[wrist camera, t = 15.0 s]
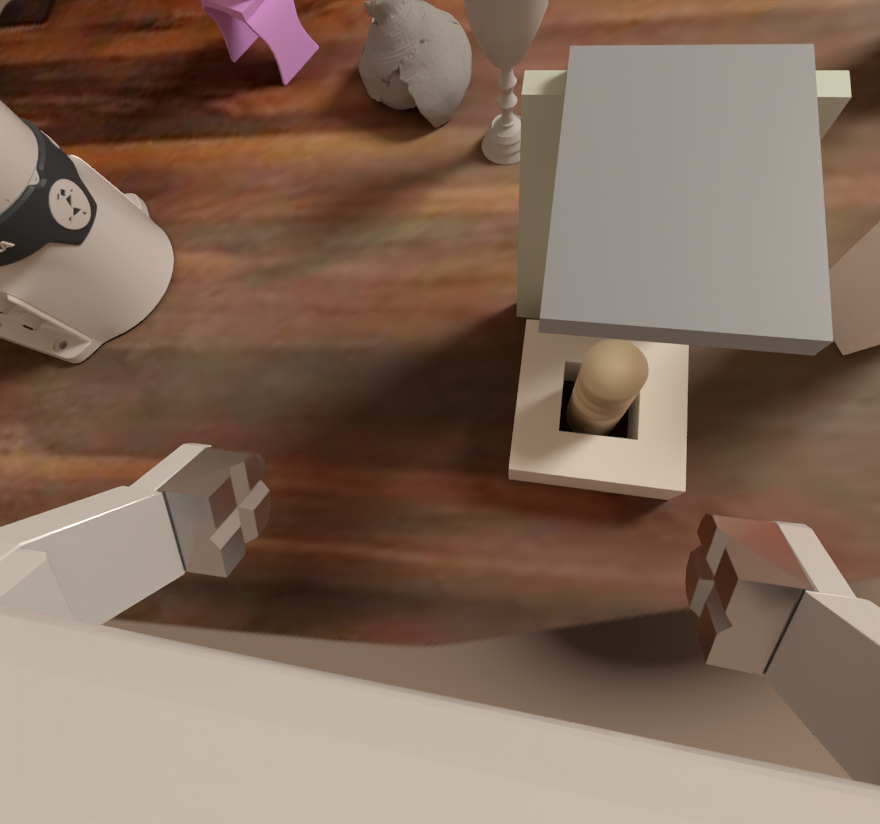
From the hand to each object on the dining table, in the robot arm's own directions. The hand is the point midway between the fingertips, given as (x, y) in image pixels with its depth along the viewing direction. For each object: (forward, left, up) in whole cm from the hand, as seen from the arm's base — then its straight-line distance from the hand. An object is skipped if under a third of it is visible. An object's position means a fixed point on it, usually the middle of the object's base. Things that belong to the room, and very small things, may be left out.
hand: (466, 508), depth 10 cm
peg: (+6, +12, -31) cm, 34 cm away
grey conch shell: (-14, +47, -32) cm, 58 cm away
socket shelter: (+6, +14, -31) cm, 35 cm away
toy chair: (-32, +51, -32) cm, 68 cm away
